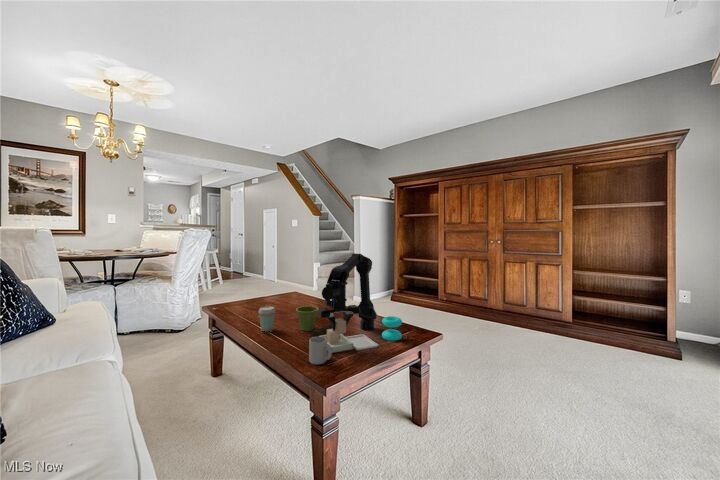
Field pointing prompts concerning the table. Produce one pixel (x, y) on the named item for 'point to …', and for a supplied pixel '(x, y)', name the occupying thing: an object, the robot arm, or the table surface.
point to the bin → (340, 344)
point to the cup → (319, 350)
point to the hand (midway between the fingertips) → (339, 329)
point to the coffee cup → (266, 318)
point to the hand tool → (321, 331)
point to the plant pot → (307, 317)
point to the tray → (362, 342)
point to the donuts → (392, 333)
